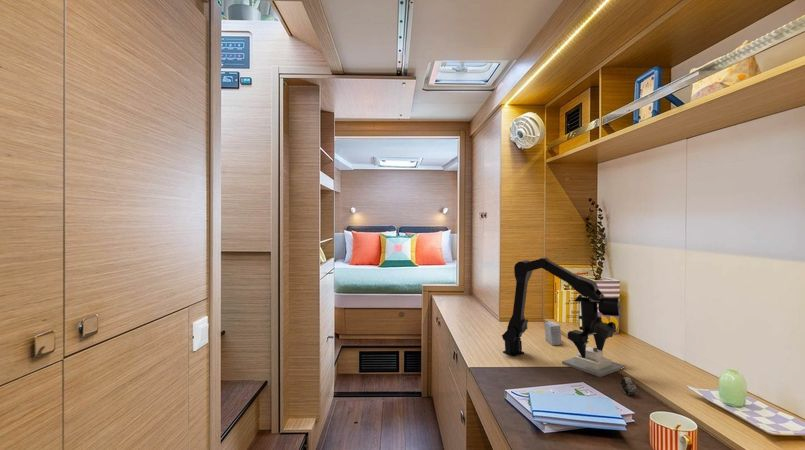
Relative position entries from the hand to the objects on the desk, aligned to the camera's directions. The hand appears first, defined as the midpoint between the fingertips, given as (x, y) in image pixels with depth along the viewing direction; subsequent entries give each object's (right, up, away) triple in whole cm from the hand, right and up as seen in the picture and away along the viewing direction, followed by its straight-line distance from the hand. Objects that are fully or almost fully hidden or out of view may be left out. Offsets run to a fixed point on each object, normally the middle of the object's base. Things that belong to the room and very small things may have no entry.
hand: (592, 355), depth 143 cm
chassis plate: (0, -4, 0) cm, 4 cm away
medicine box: (-3, -5, +30) cm, 30 cm away
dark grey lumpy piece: (0, -4, -24) cm, 24 cm away
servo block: (0, -3, 0) cm, 3 cm away
